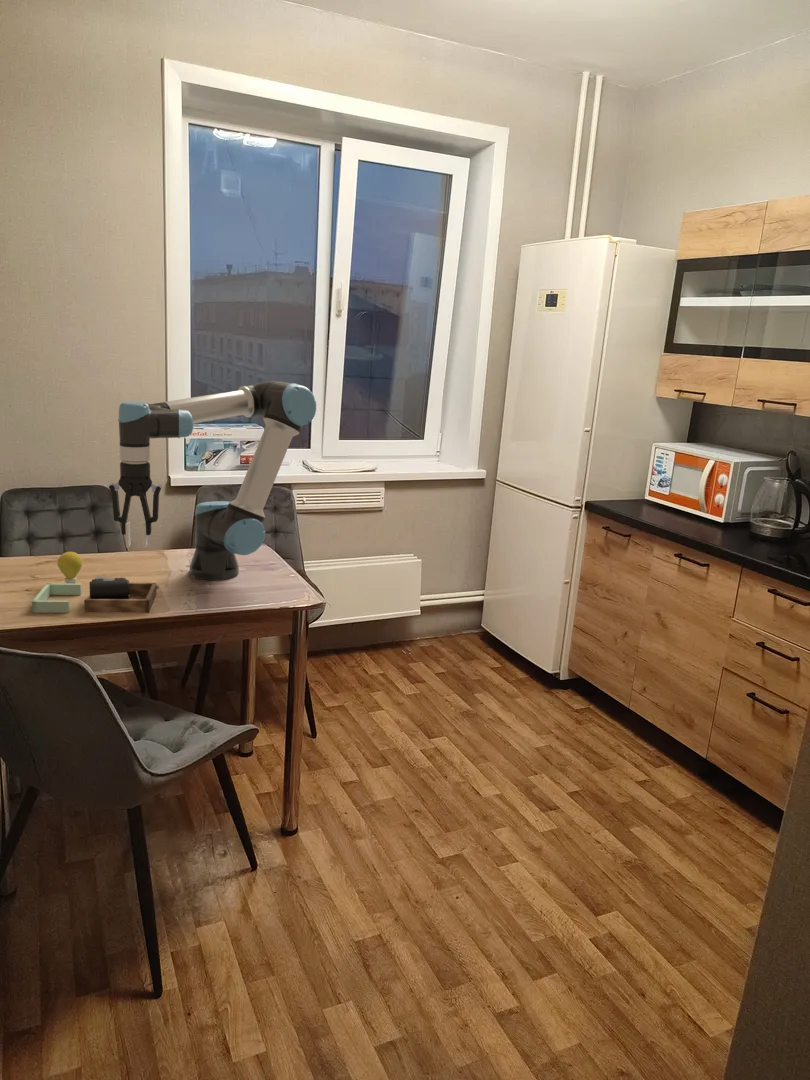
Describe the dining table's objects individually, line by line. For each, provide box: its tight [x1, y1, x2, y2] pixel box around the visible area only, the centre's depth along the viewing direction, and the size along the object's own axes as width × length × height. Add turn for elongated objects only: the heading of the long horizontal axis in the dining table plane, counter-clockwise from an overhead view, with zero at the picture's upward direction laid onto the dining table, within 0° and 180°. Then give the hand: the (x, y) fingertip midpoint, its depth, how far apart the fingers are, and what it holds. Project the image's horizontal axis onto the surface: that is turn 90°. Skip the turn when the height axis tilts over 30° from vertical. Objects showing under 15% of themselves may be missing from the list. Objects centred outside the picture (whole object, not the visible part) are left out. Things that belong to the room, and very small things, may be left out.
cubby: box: [83, 581, 158, 614], centre depth 211 cm, size 16×15×4 cm
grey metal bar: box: [94, 575, 130, 582], centre depth 227 cm, size 10×2×2 cm, turn 78°
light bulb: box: [57, 551, 83, 584], centre depth 222 cm, size 7×7×10 cm
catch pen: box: [31, 582, 82, 614], centre depth 208 cm, size 9×15×3 cm, turn 10°
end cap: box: [89, 577, 130, 599], centre depth 210 cm, size 10×7×7 cm
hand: (136, 545), depth 208 cm, fingers open, 4 cm apart
